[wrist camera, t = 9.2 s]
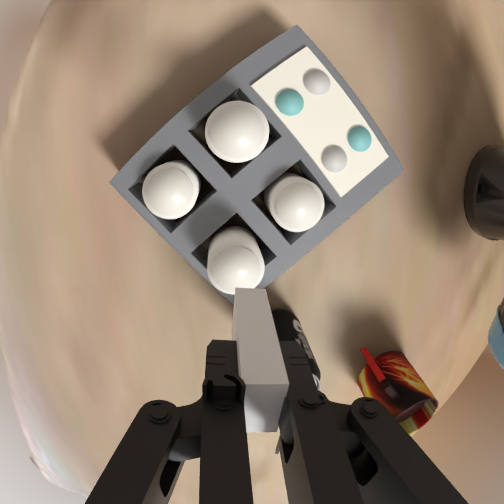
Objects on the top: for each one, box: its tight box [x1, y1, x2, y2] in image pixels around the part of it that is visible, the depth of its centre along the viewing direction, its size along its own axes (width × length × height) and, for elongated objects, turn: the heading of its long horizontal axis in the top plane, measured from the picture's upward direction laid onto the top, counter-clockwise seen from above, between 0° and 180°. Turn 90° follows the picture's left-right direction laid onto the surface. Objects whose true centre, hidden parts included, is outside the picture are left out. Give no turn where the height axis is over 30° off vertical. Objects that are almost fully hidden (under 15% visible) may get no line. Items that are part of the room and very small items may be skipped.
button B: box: [207, 226, 265, 295], centre depth 30 cm, size 5×5×5 cm
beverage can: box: [271, 310, 320, 391], centre depth 34 cm, size 7×7×12 cm
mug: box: [358, 347, 438, 435], centre depth 40 cm, size 10×14×12 cm
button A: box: [264, 173, 324, 232], centre depth 30 cm, size 5×5×5 cm
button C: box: [205, 101, 269, 163], centre depth 25 cm, size 5×5×5 cm
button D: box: [142, 160, 201, 219], centre depth 29 cm, size 5×5×5 cm
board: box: [109, 25, 404, 306], centre depth 30 cm, size 24×19×5 cm
